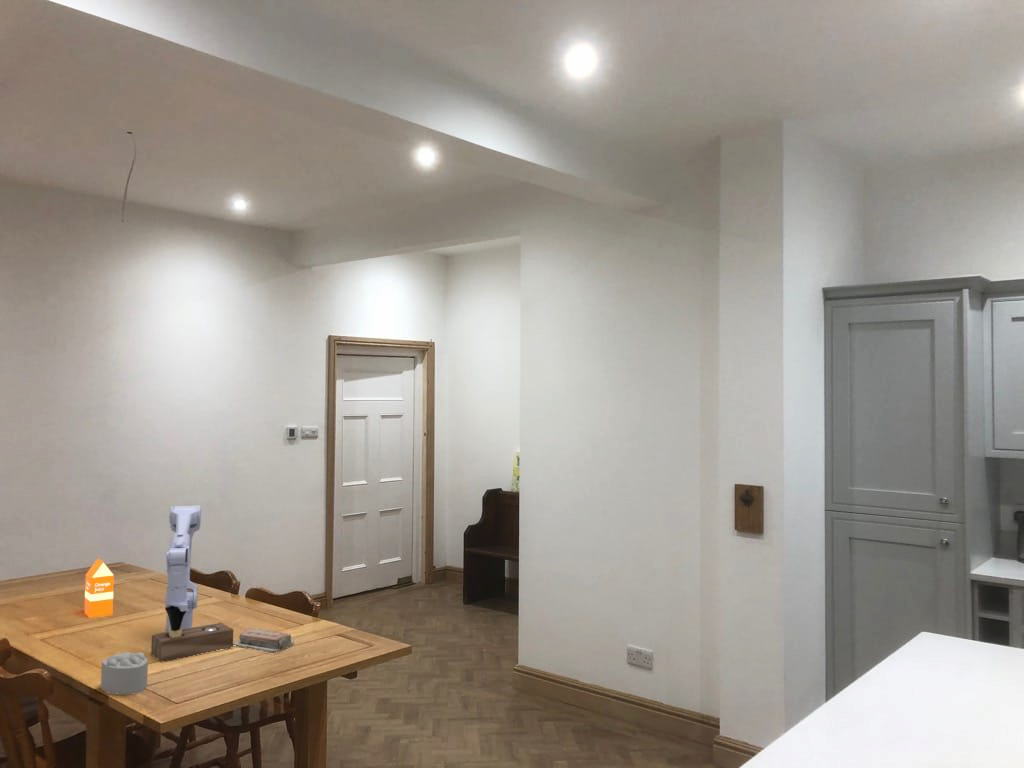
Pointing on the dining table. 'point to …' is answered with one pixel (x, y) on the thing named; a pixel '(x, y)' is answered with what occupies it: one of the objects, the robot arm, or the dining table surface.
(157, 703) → the dining table surface
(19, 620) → the dining table surface
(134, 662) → the lumpy-topped squat cylinder
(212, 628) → the grey metal peg
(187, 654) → the walnut block
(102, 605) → the orange juice
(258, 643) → the packaged product
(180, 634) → the brass peg
